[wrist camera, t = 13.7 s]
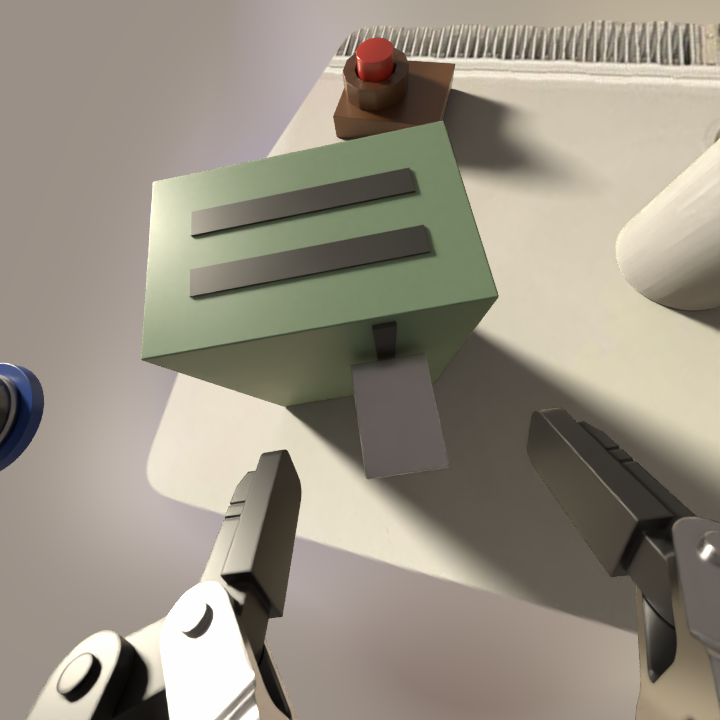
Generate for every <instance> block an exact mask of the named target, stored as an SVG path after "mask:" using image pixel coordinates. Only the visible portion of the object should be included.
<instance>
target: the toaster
mask: <svg viewBox="0 0 720 720" xmlns="http://www.w3.org/2000/svg"><path fill="white" fill-rule="evenodd" d="M497 298H498V292H497V289H496V286H495V283H494V280H493V276H492V273H491V270H490V267H489V264H488V260H487V257H486V254H485V251H484V248H483V244H482V241H481V238H480V235H479V232H478V228H477V225H476V222H475V219H474V216H473V213H472V209H471V206H470V203H469V200H468V197H467V193H466V190H465V187H464V184H463V181H462V177H461V174H460V171H459V168H458V165H457V161H456V158H455V155H454V152H453V149H452V145H451V142H450V139H449V136H448V133H447V129H446V126H445V123H444V121H439V122H435V123H430V124H425V125H420V126H416V127H411V128H406V129H402V130H397V131H392V132H387V133H383V134H378V135H373V136H368V137H364V138H359V139H354V140H350V141H345V142H340V143H335V144H331V145H326V146H321V147H316V148H312V149H307V150H302V151H298V152H293V153H288V154H283V155H279V156H274V157H269V158H265V159H260V160H255V161H250V162H246V163H241V164H236V165H231V166H227V167H222V168H218V169H213V170H208V171H203V172H198V173H194V174H189V175H184V176H179V177H175V178H170V179H165V180H161V181H156V182H153V192H152V206H151V221H150V236H149V251H148V264H147V279H146V293H145V308H144V324H143V339H142V352H141V360H143V361H146V362H149V363H152V364H155V365H158V366H161V367H165V368H167V369H170V370H174V371H177V372H180V373H183V374H186V375H189V376H192V377H195V378H198V379H201V380H204V381H207V382H210V383H213V384H216V385H219V386H222V387H226V388H229V389H232V390H235V391H238V392H241V393H244V394H247V395H250V396H253V397H256V398H259V399H262V400H265V401H268V402H271V403H274V404H278V405H281V406H284V407H285V406H291V405H297V404H303V403H309V402H316V401H322V400H328V399H334V398H340V397H346V396H352V395H354V391H353V384H352V377H351V370H350V365H353V364H358V363H364V362H370V361H376V360H382V359H388V358H394V357H400V356H406V355H412V354H418V353H425V355H426V359H427V364H428V368H429V373H430V377H431V382H435V381H436V379H437V378H438V377H439V375H440V374H441V373H442V371H443V370H444V369H445V368H446V366H447V365H448V364H449V362H450V361H451V360H452V358H453V357H454V356H455V354H456V353H457V352H458V350H459V349H460V348H461V346H462V345H463V344H464V342H465V341H466V340H467V338H468V337H469V336H470V334H471V333H472V332H473V330H474V329H475V328H476V326H477V325H478V324H479V322H480V321H481V320H482V318H483V317H484V316H485V314H486V313H487V312H488V310H489V309H490V308H491V306H492V305H493V304H494V302H495V301H496V300H497Z"/></svg>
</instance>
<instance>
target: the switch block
mask: <svg viewBox="0 0 720 720" xmlns="http://www.w3.org/2000/svg"><path fill="white" fill-rule="evenodd" d="M393 48H394V47H393ZM454 69H455V64H451V63H436V62H421V61H407V59H406V56H405V54H404V53H403V52H401V51H399V50H398V49H396V48H394V55H393V74H392V75H391V76H390V77H389V78H387V79H386V80H383V81H380V82H377V83H373V82H364V81H362V80H361V79H360V78H359V76H358V68H357V57H356V53H355V54H354V55H353V56H351V57H350V58H349V59H348V60H347V62H346V64H345V67H344V69H343V79H344V87H345V88H344V90H343V93H342V95H341V98H340V100H339V103H338V106H337V108H336V111H335V113H334V116H333V118H334V123H335V129H336V135H337V137H342V138H351V139H359V138H364V137H368V136H373V135H378V134H383V133H387V132H392V131H397V130H402V129H406V128H411V127H416V126H420V125H425V124H430V123H435V122H439V121H442V120H443V116H444V112H445V109H446V105H447V101H448V98H449V94H450V90H451V86H452V81H453V75H454Z"/></svg>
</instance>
